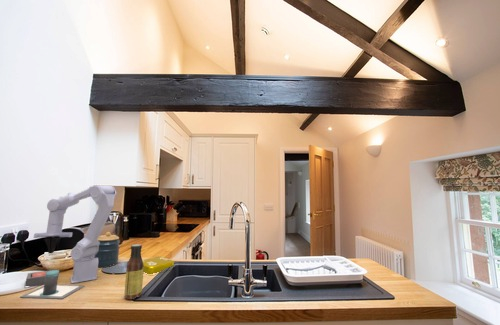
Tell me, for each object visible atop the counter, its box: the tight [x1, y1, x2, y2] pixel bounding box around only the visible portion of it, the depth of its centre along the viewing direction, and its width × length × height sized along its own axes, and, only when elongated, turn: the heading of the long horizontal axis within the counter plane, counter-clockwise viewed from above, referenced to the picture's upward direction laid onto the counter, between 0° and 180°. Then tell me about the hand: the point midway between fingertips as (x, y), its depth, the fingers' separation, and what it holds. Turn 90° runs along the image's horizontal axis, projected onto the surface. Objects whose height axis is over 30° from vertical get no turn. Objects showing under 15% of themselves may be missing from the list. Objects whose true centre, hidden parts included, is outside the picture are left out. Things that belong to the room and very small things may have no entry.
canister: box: [94, 231, 121, 269], centre depth 129 cm, size 13×13×18 cm
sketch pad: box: [19, 283, 86, 300], centre depth 92 cm, size 16×12×1 cm
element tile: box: [142, 255, 175, 275], centre depth 124 cm, size 15×15×5 cm
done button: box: [32, 271, 46, 277], centre depth 101 cm, size 5×5×3 cm
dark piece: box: [43, 269, 60, 295], centre depth 90 cm, size 4×4×8 cm
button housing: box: [24, 269, 51, 287], centre depth 100 cm, size 8×8×4 cm
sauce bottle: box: [123, 243, 144, 300], centre depth 92 cm, size 7×6×20 cm
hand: (51, 252), depth 110 cm, fingers closed
